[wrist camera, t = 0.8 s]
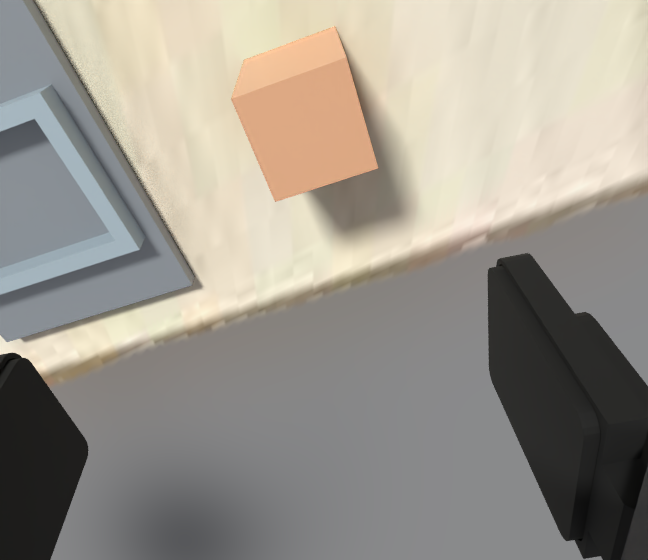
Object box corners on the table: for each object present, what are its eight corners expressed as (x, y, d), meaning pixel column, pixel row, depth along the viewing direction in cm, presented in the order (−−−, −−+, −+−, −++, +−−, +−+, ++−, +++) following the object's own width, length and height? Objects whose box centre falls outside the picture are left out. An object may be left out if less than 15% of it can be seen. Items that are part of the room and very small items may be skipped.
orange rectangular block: (334, 26, 27) (346, 57, 21) (361, 118, 29) (378, 168, 24) (244, 59, 27) (230, 98, 22) (278, 146, 30) (275, 201, 24)
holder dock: (23, -16, 25) (-1, -10, 23) (194, 276, 35) (188, 299, 33) (-213, 83, 27) (-254, 97, 25) (13, 332, 37) (-4, 357, 35)
